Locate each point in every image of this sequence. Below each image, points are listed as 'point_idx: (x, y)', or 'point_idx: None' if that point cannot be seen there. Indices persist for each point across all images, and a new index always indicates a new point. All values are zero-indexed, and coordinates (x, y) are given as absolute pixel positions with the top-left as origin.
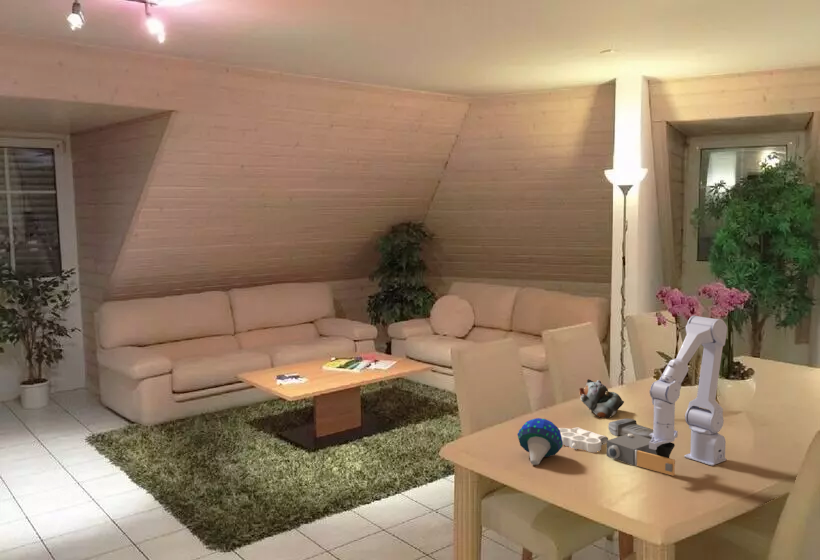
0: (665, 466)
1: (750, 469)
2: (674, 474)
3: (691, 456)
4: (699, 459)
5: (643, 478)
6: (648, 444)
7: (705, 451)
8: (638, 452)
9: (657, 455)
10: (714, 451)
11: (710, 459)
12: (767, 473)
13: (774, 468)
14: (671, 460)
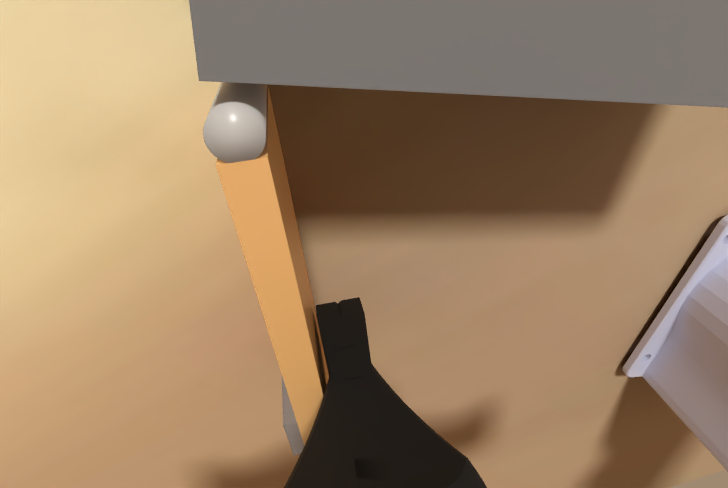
0: (283, 400)
1: (652, 438)
2: (328, 374)
3: (724, 260)
4: (679, 315)
5: (60, 298)
6: (648, 100)
7: (724, 392)
8: (225, 179)
9: (313, 392)
10: (706, 447)
11: (667, 378)
12: (633, 472)
13: (699, 456)
14: None
